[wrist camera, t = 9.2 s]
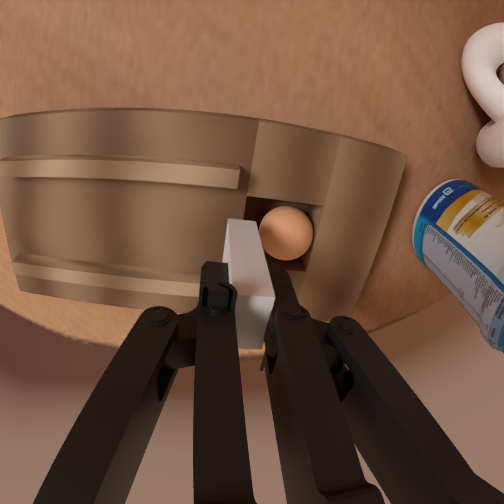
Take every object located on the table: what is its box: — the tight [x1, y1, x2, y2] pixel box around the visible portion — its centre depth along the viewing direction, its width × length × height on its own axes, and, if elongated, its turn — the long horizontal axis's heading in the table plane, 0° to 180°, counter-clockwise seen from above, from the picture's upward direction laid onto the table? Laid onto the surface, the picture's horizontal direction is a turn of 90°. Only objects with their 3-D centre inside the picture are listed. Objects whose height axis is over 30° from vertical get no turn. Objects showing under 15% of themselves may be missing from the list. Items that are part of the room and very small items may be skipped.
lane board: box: [0, 108, 407, 321], centre depth 18 cm, size 26×13×4 cm, turn 81°
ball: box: [259, 206, 313, 260], centre depth 19 cm, size 3×3×3 cm
